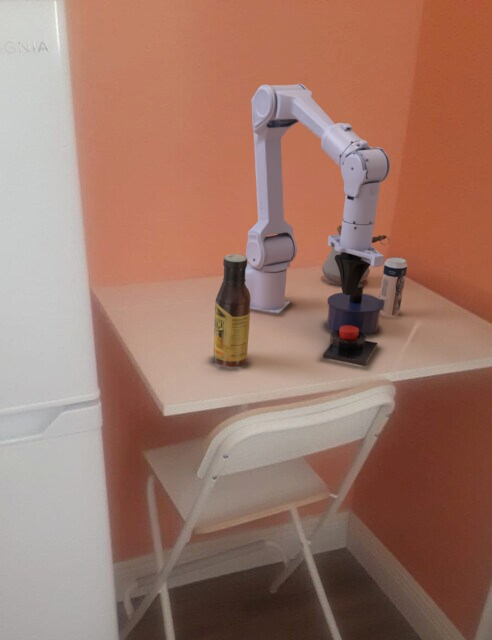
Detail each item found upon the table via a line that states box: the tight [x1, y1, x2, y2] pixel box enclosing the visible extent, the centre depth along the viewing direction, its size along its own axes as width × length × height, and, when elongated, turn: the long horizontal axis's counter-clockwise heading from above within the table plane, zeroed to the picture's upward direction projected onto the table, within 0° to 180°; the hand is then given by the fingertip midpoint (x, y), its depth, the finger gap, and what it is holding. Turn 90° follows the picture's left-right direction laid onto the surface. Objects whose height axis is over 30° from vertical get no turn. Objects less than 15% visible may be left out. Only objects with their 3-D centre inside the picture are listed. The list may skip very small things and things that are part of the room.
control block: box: [322, 329, 379, 367], centre depth 133 cm, size 10×8×3 cm
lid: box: [326, 283, 383, 314], centre depth 142 cm, size 11×11×4 cm
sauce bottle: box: [213, 253, 251, 368], centre depth 124 cm, size 7×6×20 cm
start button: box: [339, 325, 359, 340], centre depth 134 cm, size 4×4×2 cm
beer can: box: [378, 256, 408, 317], centre depth 150 cm, size 5×5×12 cm
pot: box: [326, 304, 381, 336], centre depth 144 cm, size 10×10×5 cm
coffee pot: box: [321, 224, 391, 286], centre depth 164 cm, size 21×12×15 cm, turn 19°
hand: (348, 293), depth 133 cm, fingers closed
